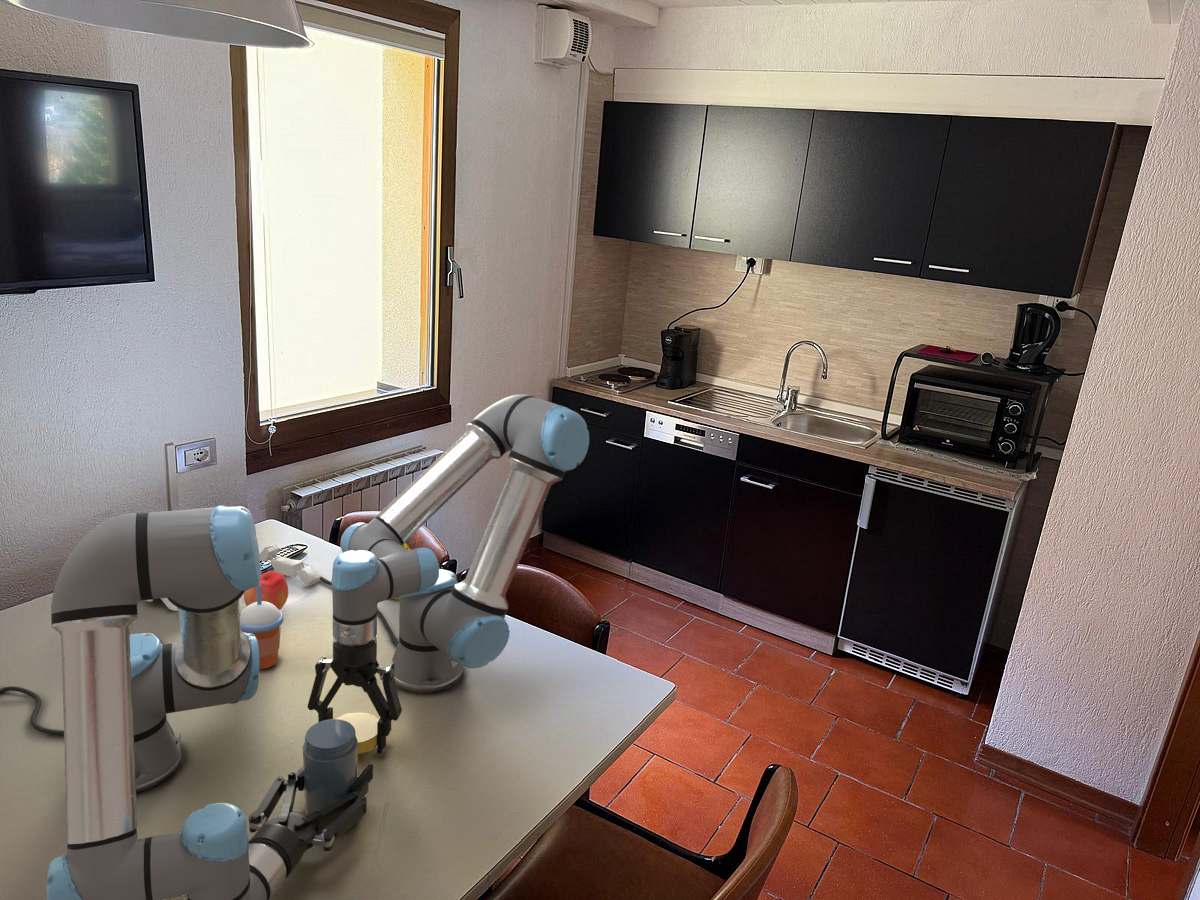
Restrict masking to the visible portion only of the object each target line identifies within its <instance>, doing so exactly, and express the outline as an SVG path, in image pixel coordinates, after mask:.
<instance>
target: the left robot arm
mask: <svg viewBox="0 0 1200 900" xmlns="http://www.w3.org/2000/svg"><path fill="white" fill-rule="evenodd" d="M259 554H260V547H259V542H258V537H257V529H256V525H255V520H254V517H253V514H252V512H251V511H250V510H249V509H248V508H247V507H244V506H240V505H239V506H238V505H237V506H226V505H217V506H212V507H203V508H202V507H201V508H189V509H177V510H166V511H152V512H151V511H150V512H131V513H123V514H120V515H117V516H113V517H110V518H109V519H107V520H105V521H103V522H101V523H100V524H98V525H97V526H95V527H94V528H92V529H91V530H90V531H89V532H87V534H85V535H84V536H83V538H82V539H81V540H80V541H79V542H78V543H77V544H76V545H75V547H74V548H73V549H72V551H71V552H70V554H69V555H68V557H67V558H66V561H65V562H64V564H63V565H62V567H61V569H60V572H59V575H58V577H57V579H56V582H55V585H54V588H53V593H52V597H51V606H50V616H51V617H50V618H51V619H50V622H51V624H50V625H51V629H53V630H54V631H56V632H57V633H58V634H59V635H60V637H61V638H60V640H61V674H62V678H61V679H62V702H63V703H62V707H63V708H62V710H63V712H62V713H63V730H61V729H53V728H52V729H51V728H47V727H44V726H42V725H40V724H39V723H38V722H37V717H38V714H39V712H40V709H41V706H42V698H41V697H40V696H39V694H37V693H36V692H34V691H32V690H30V689H27V688H24V687H21V686H14V685H13V686H5V687H2V688H1V689H0V695H1V694H3V693H6V692H9V691H10V692H17V693H18V692H19V693H22V694H25V695H27V696H29V697H31V698H33V700H35V702H36V704H35V707H34V709H33V711H32V714H31V716H30V724H31V726H32V728H33V729H35V730H36V731H38V732H39V733H44V734H48V735H53V736H63V743H64V745H63V747H64V780H65V782H64V784H65V817H66V819H65V820H66V821H65V823H66V843H67V844H66V845H67V846H66V847H67V849H66V853H64V854H63V855H61V856H57V857H55V858H54V859H52V861H51V862H50V863H49V865H48V869H47V875H46V887H45V888H46V889H45V899H46V900H167V899H171V898H176V897H179V896H184V895H187V900H271V898H273V896H274V894H275V893H276V892H277V891H278V889H279V888H280V887H281V886H282V884H283V883H284V882H285V880H286V879H287V878H288V877H289V876H290V874H291V873H292V872H293V871H294V869H295V868H296V867H297V866H298V864H299V863H300V861H302V858H303V856H304V855H305V853H306V852H307V851H308V850H310V849H313V847H314V846H318V847H323V851H324V852H330V851H332V850H333V848H334V846H335V844H336V842H337V841H338V840H339V839H340V838H341V837H342V836H343V835H345V833H346V832H347V831H349V830H350V828H352V827H353V826H354V825H355V824H356V823H357V822H358V821H359V820H360V819H361V818H363V816H364V815H366V813H367V812H368V798H367V796H366V795H367V794H368V792H369V784H370V783H371V782H372V780H373V779H374V764H373V763H368V764H367V765H366V766H365V767H364V769H363V770H362V772H361V773H360V774H358V778H357V779H356V780H355V782H354V783H353V784H352V785H351V787H350V788H349V794H348V795H346V796H345V797H343V798H341V799H339V800H338V801H336V802H334V803H333V804H331V805H329V806H328V807H326V808H324V809H322V810H321V811H319V812H318V811H314V812H313V813H311V814H309V815H305V813H304V814H302V813H299V812H296V811H294V807H295V806H294V805H295V800H296V795H297V791H299V792H304V771H303V766H301V767H299V769H298V770H297V771H296V772H293V771H292V772H289V773H288V774H287V778H284V777H283V776H277V777H276V778H275V780H274V781H273V783H272V785H271V786H270V788H269V790H268V791H267V793H266V794H265V796H264V798H263V799H262V801H261V802H260V805H259V806H258V808H257V809H256V810H254V811H253V812H252V813H251V814H250V815H248V826H247V821H246V820H247V819H246V816H245V814H244V812H243V811H242V810H241V809H240V808H239V806H236V805H235V804H232V803H228V802H213V803H208V804H205V805H204V806H203V807H202V808H201V809H196V810H194V811H192V812H191V813H190V814H189V815H188V816H187V817H186V819H185V820H184V822H183V824H182V828H181V830H178V831H173V832H168V833H164V834H159V835H154V836H149V837H144V838H140V839H139V838H138V809H137V808H138V807H137V793H140V792H143V791H146V790H149V789H151V788H154V787H156V786H158V785H159V784H161V783H163V782H164V781H166V780H167V779H169V778H170V777H171V776H172V775H173V774H174V773H175V772H176V771H177V769H178V768H179V767H180V764H181V762H182V757H183V756H182V747H181V742H182V741H181V740H182V732H180V733H179V737H177V736H176V734H175V732H174V730H173V728H172V726H171V724H170V723H169V721H168V717H167V715H168V714H172V713H179V712H185V711H191V710H197V709H204V708H211V707H216V706H222V705H223V706H224V705H228V704H230V705H236V704H238V703H240V702H244V701H249V700H251V699H252V698H253V697H254V696H256V694H257V692H258V688H259V682H260V676H259V675H260V670H261V669H260V659H259V647H258V641H257V639H256V637H255V635H254V634H252V633H244V632H242V631H241V630H240V614H241V608H240V607H241V606H240V605H241V604H240V599H241V598H242V597H243V596H244V592H245V591H246V590H249V589H250V588H255V587H257V586H258V585H259V584H260V580H261V574H262V570H261V568H262V566H261V565H260V556H259ZM161 598H167V599H168V600H169V601H170V602H171V603H172V604H173V605H174V606H176V607H177V610H178V611H177V616H178V622H179V629H180V635H181V636H180V637H181V639H180V640H179V641H176V642H170V643H163V642H162V641H161V640H160V639H159V638H158V637H157V636H156V635H155V634H154V635H155V636H154V635H151V634H150V635H147V634H145V633H132V634H131V633H130V627H131V626H132V625H133V623H135V621H136V620H137V619H138V614H139V613H138V602H139V601H146V600H151V599H153V600H158V599H160V600H161ZM162 643H163V644H162ZM283 794H284V797H283V802H282V804H281V808H280V813H279V815H278V816H276V817H274V818H271V819H269V818H270V817H271V815H272V813H273V812H274V810H275V808H276V806H277V805H278V803H279V801H280V800H281V798H282V796H283ZM313 821H314V822H313ZM327 826H329V827H328V828H327V829H324V828H325V827H327ZM247 827H249V828H247ZM248 829H249V832H250V833H252V834H253V833H255V834H254V835H253V836H252V837H251V839H249V834H248ZM322 830H323V832H322ZM321 832H322V833H321ZM320 833H321V834H320Z"/></svg>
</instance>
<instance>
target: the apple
mask: <svg viewBox="0 0 1200 900" xmlns="http://www.w3.org/2000/svg"><path fill="white" fill-rule="evenodd" d="M260 585H261V597H262V601H265V602H269V603H271V604H273V605H274V606H276V607H277V609H278V610H279V611H281V610H282V609H283V607H284V606H285V605H286V603H287V600H288V597H289V584H288V581H287V579H286V577H285V575H282V574H281V573H278V572H275V571H268V570H267V571H266V572H264V573H261V580H260ZM243 601H244V604H245V607H247V606H248V605H250V604H252V603H254V602H257V588H256V587H255V588H250V589H249V590H246V591H245V592H244V594H243Z"/></svg>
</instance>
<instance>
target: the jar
mask: <svg viewBox="0 0 1200 900" xmlns="http://www.w3.org/2000/svg"><path fill="white" fill-rule="evenodd" d="M355 733H356V731H355V728H354V727H353V725H352V724H350V723H349V722H347V721H344V720H339V719H336V718H333V719H330V720H324V721H321V722H316V723H314V724H313V725H311V726H310V727H309V728H308V729H307V731H306V733H305V737H304V743H303V745H302V764H303V765H302V767H303V771H304V790H303V799H304V800H303V802H304V815H309V814H311V813H313V812H314V811H318V812H319V811H321V810H322V809H324V808H326V807H328V806H329V805H331V804H333V803H334V802H336V801H338V800H339V799H341V798H343V797H345V796H346V795H348V794H349V788H350V787H351V785H352V784H353V783H354V782H355V780H356V779H357V778H358V777H359V754H358V740H357V737H356V734H355ZM313 822H314V821H313ZM328 827H329V826H327V827H325V828H324V829H327V828H328ZM322 832H323V830H322ZM322 832H321V833H322ZM321 833H320V834H321ZM320 834H319V835H320Z"/></svg>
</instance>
